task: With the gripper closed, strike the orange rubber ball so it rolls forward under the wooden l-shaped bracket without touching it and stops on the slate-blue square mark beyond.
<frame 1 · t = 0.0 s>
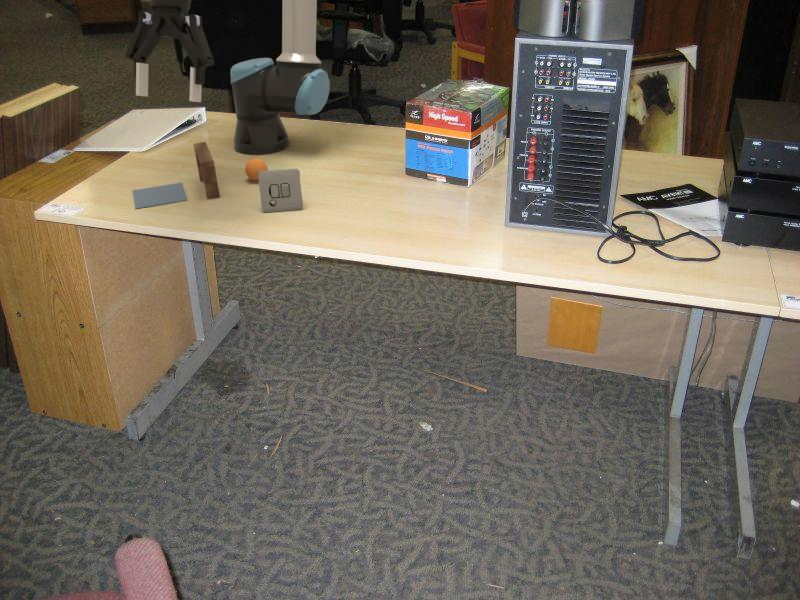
hand: (168, 99, 152), 28 cm above the table, tool tilted 20°, fingers open, 13 cm apart
electrical switch: (282, 208, 173), on the table
wooden l-shaped bracket: (209, 187, 184), on the table
ball: (256, 169, 186), on the table
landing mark: (159, 195, 181), on the table
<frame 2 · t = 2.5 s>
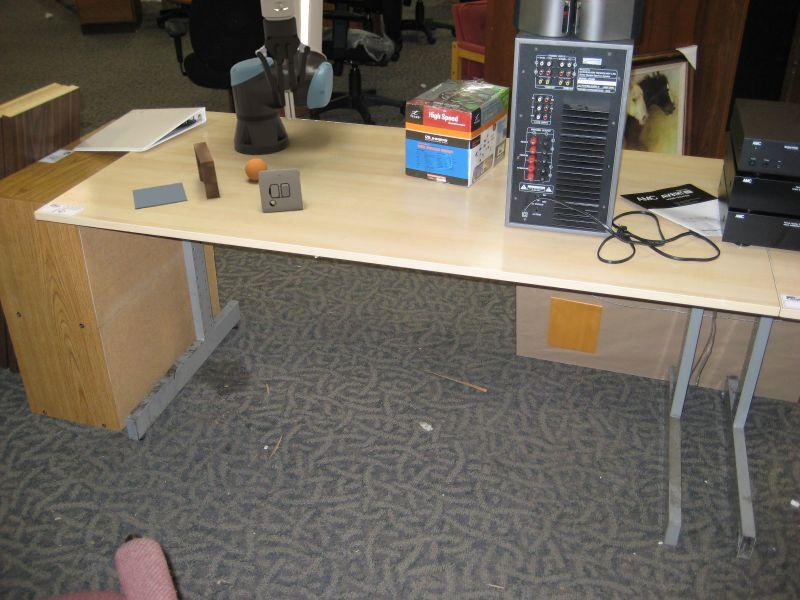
hand: (290, 118, 183), 14 cm above the table, tool pointing down, fingers closed
nothing on the table moved.
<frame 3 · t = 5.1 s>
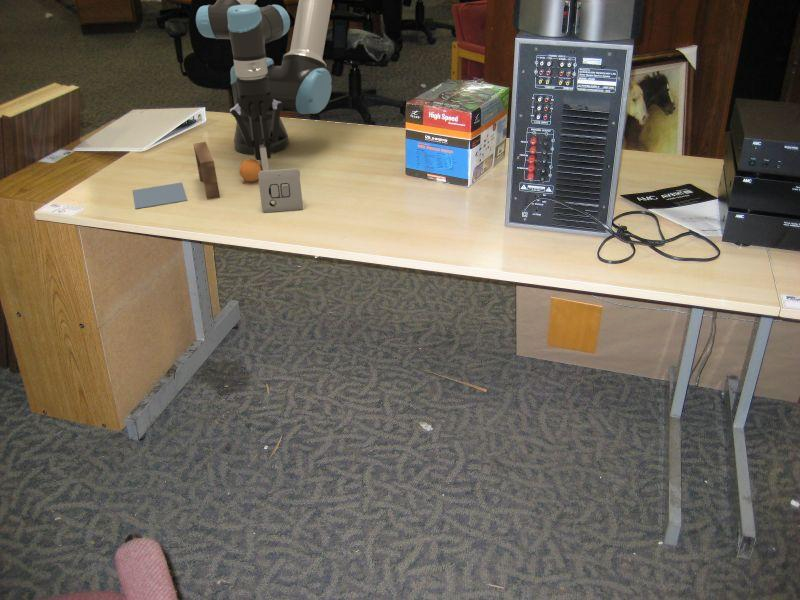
hand: (265, 171, 187), 2 cm above the table, tool pointing down, fingers closed
ball: (250, 170, 185), on the table, touching gripper
everything else where it was.
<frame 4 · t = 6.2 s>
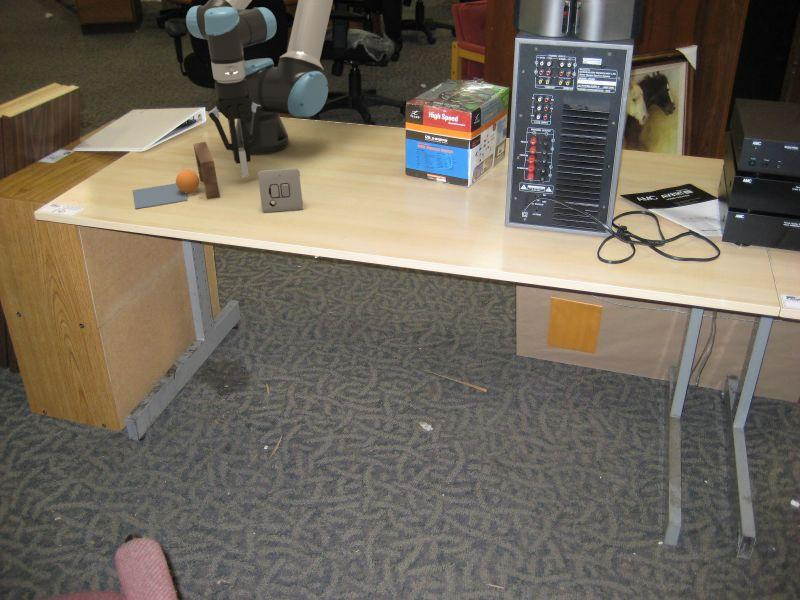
hand: (244, 174, 185), 2 cm above the table, tool pointing down, fingers closed
ball: (187, 181, 181), on the table
everything else where it was.
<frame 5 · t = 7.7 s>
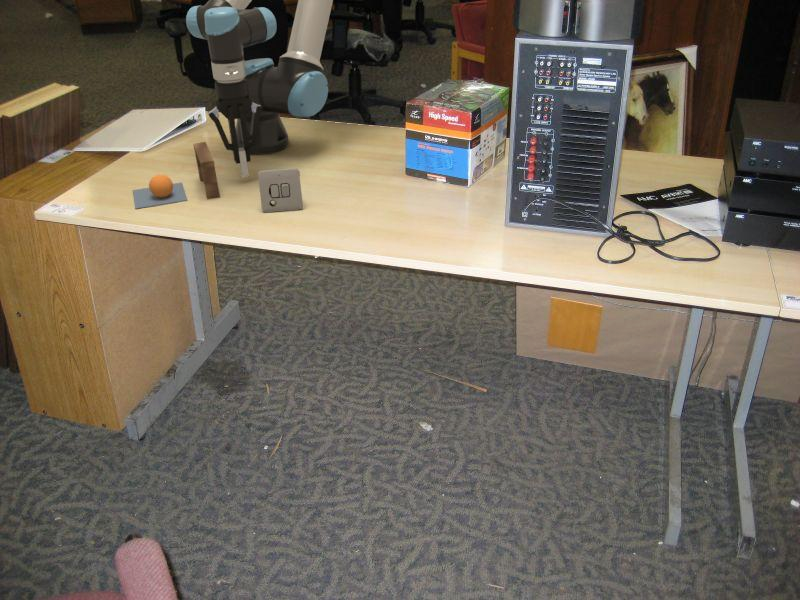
hand: (244, 174, 185), 2 cm above the table, tool pointing down, fingers closed
ball: (161, 186, 179), on the table
everything else where it was.
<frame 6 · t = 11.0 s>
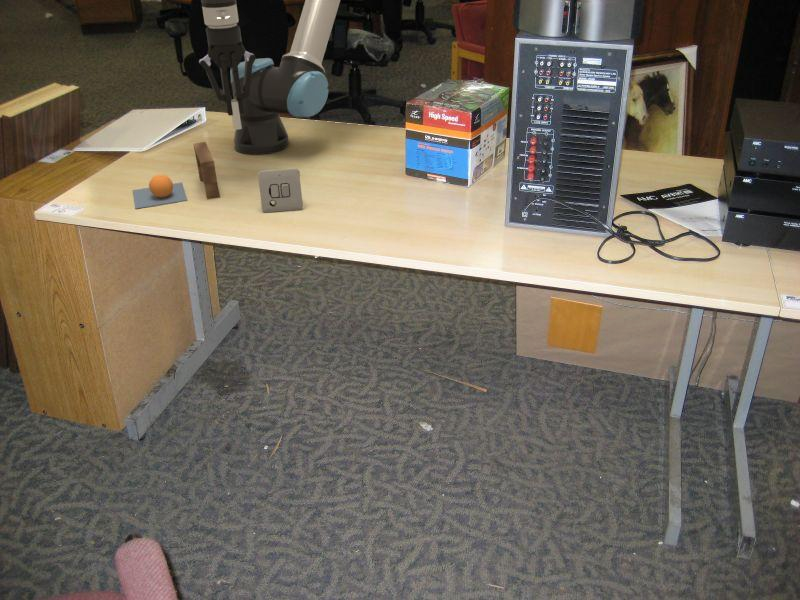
hand: (237, 127, 179), 14 cm above the table, tool pointing down, fingers closed
nothing on the table moved.
at the end: ball 1.3 cm from the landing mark (horizontally); ball never touched wooden l-shaped bracket; ball at rest at the end (0.0 cm/s) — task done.
